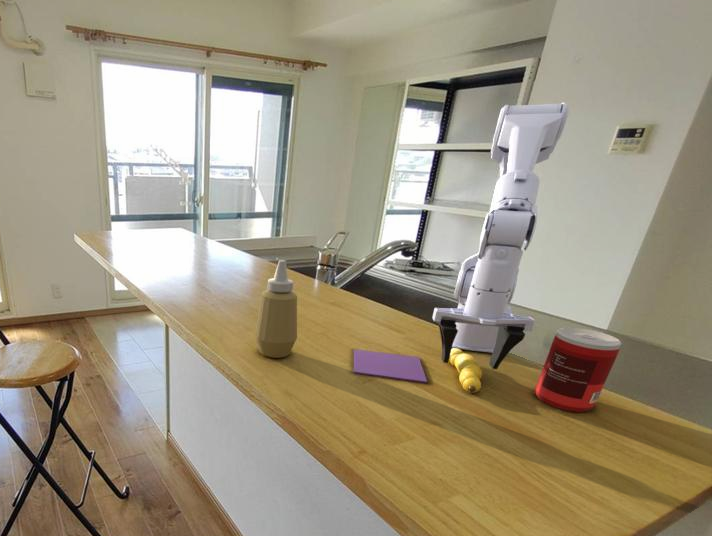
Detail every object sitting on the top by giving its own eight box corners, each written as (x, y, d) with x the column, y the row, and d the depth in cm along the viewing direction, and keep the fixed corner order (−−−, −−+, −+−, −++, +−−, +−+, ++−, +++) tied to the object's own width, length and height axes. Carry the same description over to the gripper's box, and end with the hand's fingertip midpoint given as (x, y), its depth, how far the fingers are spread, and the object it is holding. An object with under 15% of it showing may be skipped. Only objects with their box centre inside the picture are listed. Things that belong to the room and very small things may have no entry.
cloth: (418, 358, 82) (418, 357, 82) (426, 383, 73) (427, 381, 73) (353, 350, 86) (354, 349, 85) (353, 373, 76) (354, 371, 76)
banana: (464, 358, 83) (468, 343, 82) (488, 400, 68) (494, 382, 66) (444, 356, 84) (448, 341, 82) (463, 396, 69) (469, 378, 67)
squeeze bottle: (250, 345, 87) (256, 256, 80) (289, 344, 88) (298, 256, 80) (257, 361, 80) (264, 265, 72) (300, 360, 80) (310, 265, 73)
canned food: (580, 393, 70) (607, 330, 66) (603, 417, 63) (634, 349, 59) (526, 385, 73) (548, 324, 68) (543, 408, 66) (568, 341, 61)
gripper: (446, 289, 68) (427, 367, 73) (552, 298, 64) (523, 379, 69) (438, 279, 74) (421, 351, 79) (534, 287, 70) (509, 362, 76)
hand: (468, 363), depth 75 cm, fingers open, 7 cm apart
